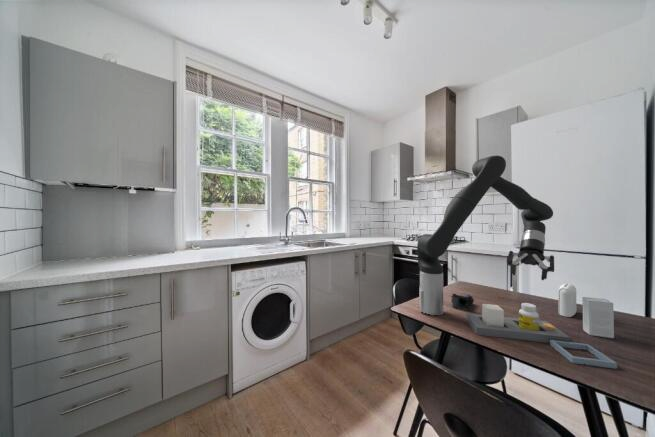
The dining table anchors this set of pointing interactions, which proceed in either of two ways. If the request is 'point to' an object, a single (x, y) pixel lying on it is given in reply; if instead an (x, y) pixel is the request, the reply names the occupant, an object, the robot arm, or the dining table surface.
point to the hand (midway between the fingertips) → (527, 276)
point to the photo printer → (567, 300)
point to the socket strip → (511, 326)
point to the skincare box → (598, 317)
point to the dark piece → (462, 302)
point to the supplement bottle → (528, 317)
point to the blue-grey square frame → (580, 360)
